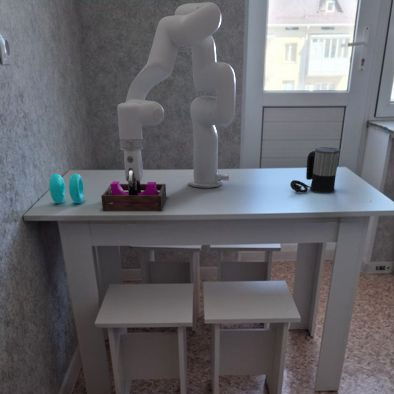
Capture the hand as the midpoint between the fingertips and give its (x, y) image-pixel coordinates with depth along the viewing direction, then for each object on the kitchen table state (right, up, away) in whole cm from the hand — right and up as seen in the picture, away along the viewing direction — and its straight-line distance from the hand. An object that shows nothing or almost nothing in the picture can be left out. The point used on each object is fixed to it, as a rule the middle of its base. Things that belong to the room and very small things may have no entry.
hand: (135, 198), depth 171 cm
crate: (0, -2, +1) cm, 2 cm away
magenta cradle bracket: (0, -2, +1) cm, 2 cm away
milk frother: (+66, +7, +15) cm, 68 cm away
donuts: (-24, -1, +3) cm, 24 cm away
